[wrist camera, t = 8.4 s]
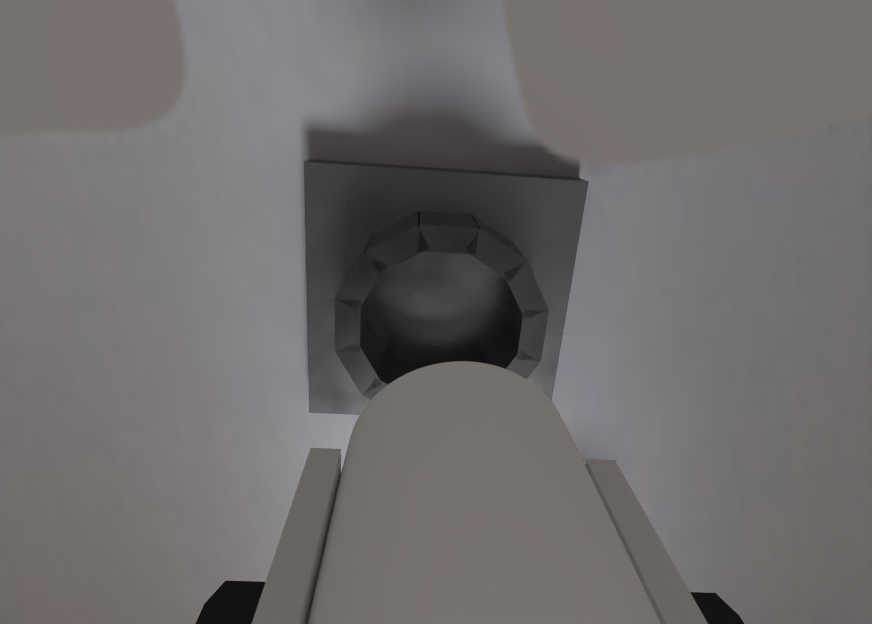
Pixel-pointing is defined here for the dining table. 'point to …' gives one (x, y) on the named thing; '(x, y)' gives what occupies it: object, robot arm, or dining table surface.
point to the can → (470, 512)
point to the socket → (433, 274)
